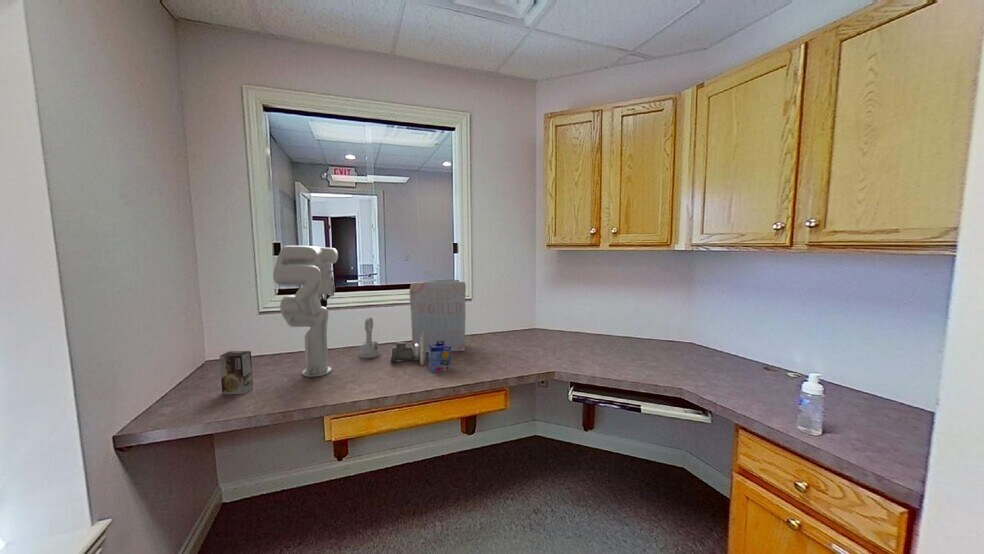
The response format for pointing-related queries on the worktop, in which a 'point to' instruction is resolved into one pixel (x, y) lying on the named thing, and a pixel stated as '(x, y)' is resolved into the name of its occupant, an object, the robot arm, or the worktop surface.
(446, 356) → the ink cartridge box
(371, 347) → the electric toothbrush
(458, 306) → the grey shopping bag
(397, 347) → the pipe fitting
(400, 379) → the worktop surface
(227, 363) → the coffee box
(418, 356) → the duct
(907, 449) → the worktop surface
